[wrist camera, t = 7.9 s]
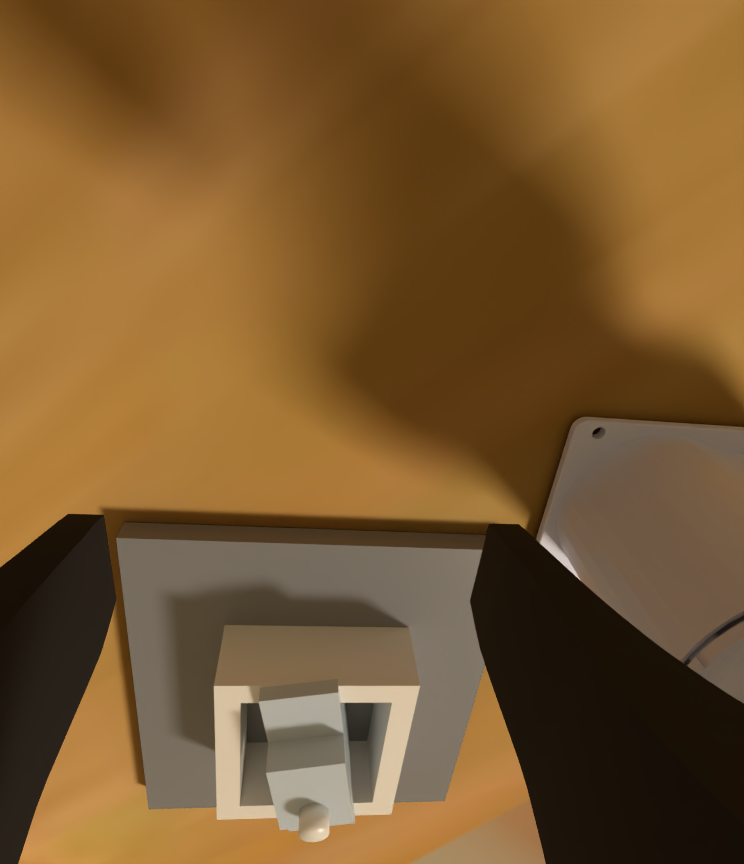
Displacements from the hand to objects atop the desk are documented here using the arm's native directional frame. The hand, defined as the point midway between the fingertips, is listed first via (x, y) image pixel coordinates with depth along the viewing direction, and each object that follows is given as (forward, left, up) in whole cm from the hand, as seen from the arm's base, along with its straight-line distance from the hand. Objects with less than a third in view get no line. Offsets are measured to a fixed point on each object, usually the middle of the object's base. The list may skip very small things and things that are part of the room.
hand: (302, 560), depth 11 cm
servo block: (-1, +16, -9) cm, 19 cm away
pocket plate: (-1, +16, -10) cm, 19 cm away
